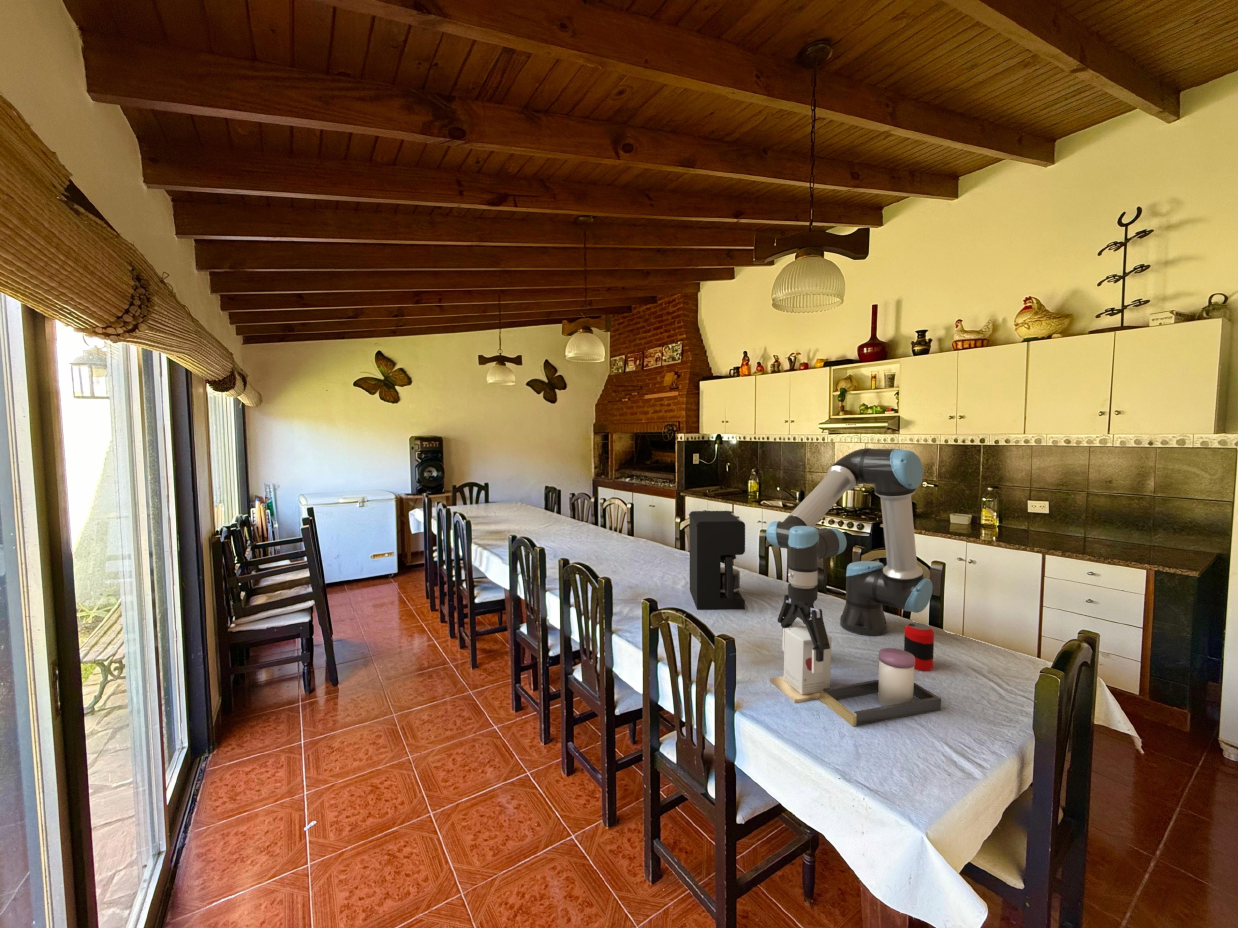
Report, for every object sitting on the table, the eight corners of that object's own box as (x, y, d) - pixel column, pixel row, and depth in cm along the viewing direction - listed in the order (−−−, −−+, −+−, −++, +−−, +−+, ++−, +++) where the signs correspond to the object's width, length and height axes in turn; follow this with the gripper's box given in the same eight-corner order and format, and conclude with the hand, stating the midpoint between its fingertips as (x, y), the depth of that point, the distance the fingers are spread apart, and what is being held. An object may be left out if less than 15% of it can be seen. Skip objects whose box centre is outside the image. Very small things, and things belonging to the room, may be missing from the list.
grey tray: (902, 685, 144) (902, 675, 144) (940, 709, 132) (941, 698, 132) (819, 700, 138) (820, 689, 137) (852, 726, 126) (853, 714, 125)
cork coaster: (807, 675, 151) (807, 672, 151) (834, 695, 140) (834, 692, 140) (769, 680, 148) (769, 678, 148) (794, 702, 136) (794, 699, 136)
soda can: (903, 657, 161) (904, 619, 160) (931, 662, 158) (933, 623, 157) (904, 668, 155) (905, 628, 154) (934, 673, 151) (935, 632, 150)
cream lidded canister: (896, 691, 141) (897, 646, 140) (921, 707, 133) (922, 659, 132) (870, 696, 139) (871, 650, 138) (894, 712, 131) (895, 663, 130)
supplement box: (801, 695, 138) (802, 640, 137) (782, 679, 147) (783, 627, 146) (831, 690, 141) (832, 636, 139) (811, 675, 149) (811, 623, 148)
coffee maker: (749, 613, 200) (749, 522, 198) (697, 613, 201) (697, 522, 198) (733, 589, 228) (734, 510, 226) (688, 590, 229) (688, 510, 226)
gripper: (765, 572, 153) (765, 643, 154) (819, 600, 129) (818, 684, 130) (788, 570, 155) (787, 640, 156) (846, 597, 131) (844, 680, 132)
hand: (801, 660), depth 143 cm, fingers open, 13 cm apart
